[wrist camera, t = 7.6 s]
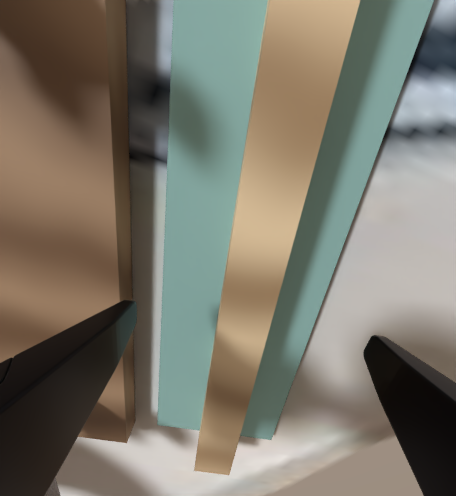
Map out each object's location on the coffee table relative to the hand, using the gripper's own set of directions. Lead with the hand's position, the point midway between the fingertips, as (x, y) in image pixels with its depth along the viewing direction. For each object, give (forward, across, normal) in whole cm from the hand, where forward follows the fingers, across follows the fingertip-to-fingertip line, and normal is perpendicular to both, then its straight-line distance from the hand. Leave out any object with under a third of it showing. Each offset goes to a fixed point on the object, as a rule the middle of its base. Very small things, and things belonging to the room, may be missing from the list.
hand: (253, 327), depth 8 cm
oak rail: (+4, 0, 0) cm, 4 cm away
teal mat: (+4, 0, 0) cm, 5 cm away
